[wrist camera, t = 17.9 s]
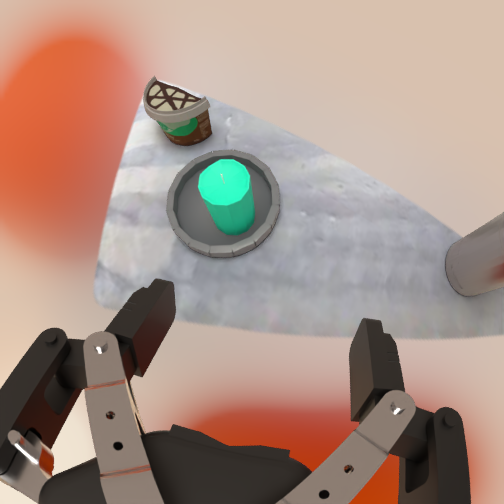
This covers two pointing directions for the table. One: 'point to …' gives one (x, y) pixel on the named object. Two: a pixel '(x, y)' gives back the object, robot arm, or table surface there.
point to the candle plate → (199, 218)
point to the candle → (228, 196)
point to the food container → (177, 113)
